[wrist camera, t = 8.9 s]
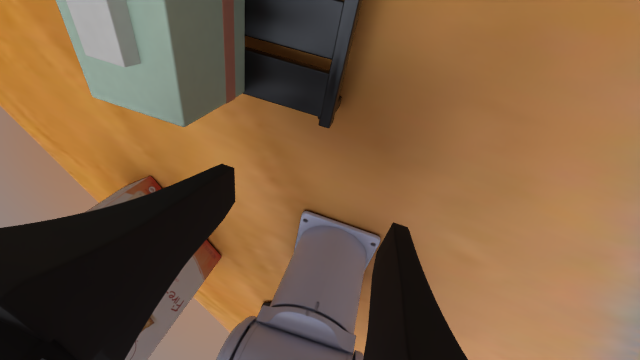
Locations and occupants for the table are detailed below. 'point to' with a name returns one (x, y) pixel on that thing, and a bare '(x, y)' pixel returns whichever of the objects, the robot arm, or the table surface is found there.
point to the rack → (304, 35)
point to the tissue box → (160, 53)
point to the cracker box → (178, 290)
